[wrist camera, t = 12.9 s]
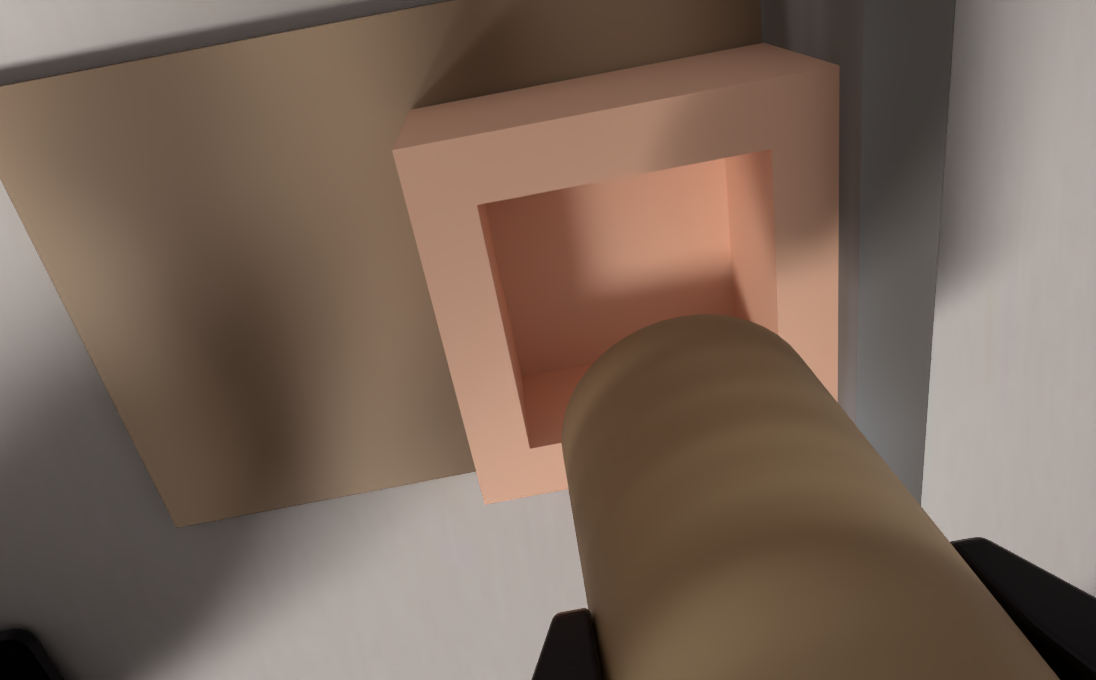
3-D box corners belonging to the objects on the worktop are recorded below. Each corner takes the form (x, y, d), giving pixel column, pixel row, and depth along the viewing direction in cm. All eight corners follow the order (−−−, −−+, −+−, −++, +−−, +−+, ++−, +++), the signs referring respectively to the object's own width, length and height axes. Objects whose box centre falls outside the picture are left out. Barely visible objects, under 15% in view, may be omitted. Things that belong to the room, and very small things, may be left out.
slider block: (483, 410, 21) (484, 504, 17) (409, 110, 17) (391, 150, 13) (775, 355, 21) (837, 438, 17) (763, 42, 17) (839, 65, 13)
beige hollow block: (182, 516, 22) (98, 675, 17) (-28, 91, 17) (-238, 146, 12) (863, 387, 22) (974, 510, 17) (875, -81, 17) (1041, -97, 12)
